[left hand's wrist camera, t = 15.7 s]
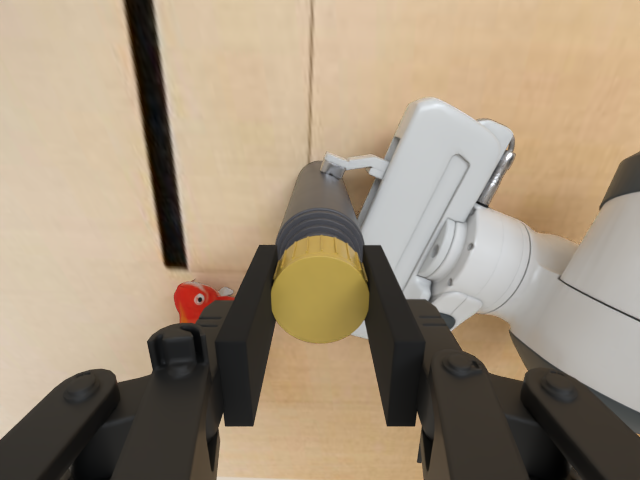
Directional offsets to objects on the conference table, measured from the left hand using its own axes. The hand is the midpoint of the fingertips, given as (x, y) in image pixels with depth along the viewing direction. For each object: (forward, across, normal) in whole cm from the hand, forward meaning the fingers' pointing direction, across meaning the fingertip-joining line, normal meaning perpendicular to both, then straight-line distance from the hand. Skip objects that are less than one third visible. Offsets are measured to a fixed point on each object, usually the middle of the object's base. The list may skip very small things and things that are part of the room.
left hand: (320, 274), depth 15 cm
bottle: (+20, 0, 0) cm, 20 cm away
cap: (-2, 0, 0) cm, 2 cm away
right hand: (+14, -1, 0) cm, 14 cm away
